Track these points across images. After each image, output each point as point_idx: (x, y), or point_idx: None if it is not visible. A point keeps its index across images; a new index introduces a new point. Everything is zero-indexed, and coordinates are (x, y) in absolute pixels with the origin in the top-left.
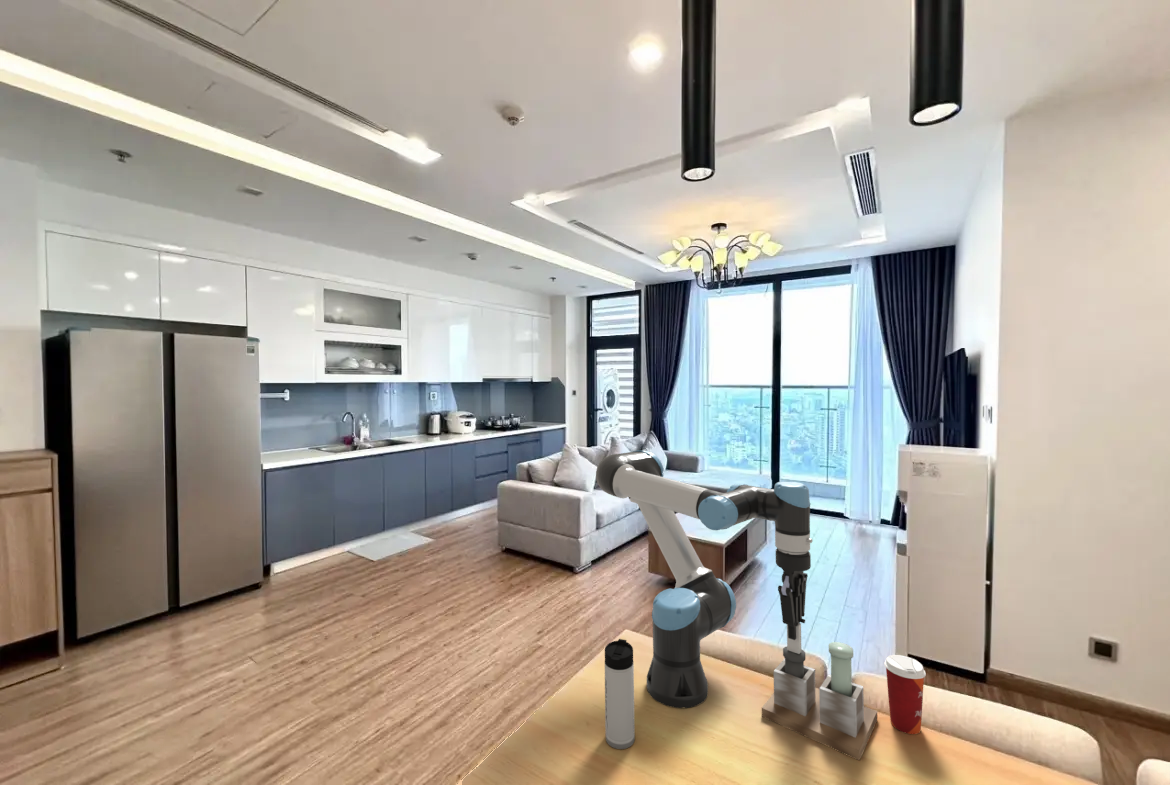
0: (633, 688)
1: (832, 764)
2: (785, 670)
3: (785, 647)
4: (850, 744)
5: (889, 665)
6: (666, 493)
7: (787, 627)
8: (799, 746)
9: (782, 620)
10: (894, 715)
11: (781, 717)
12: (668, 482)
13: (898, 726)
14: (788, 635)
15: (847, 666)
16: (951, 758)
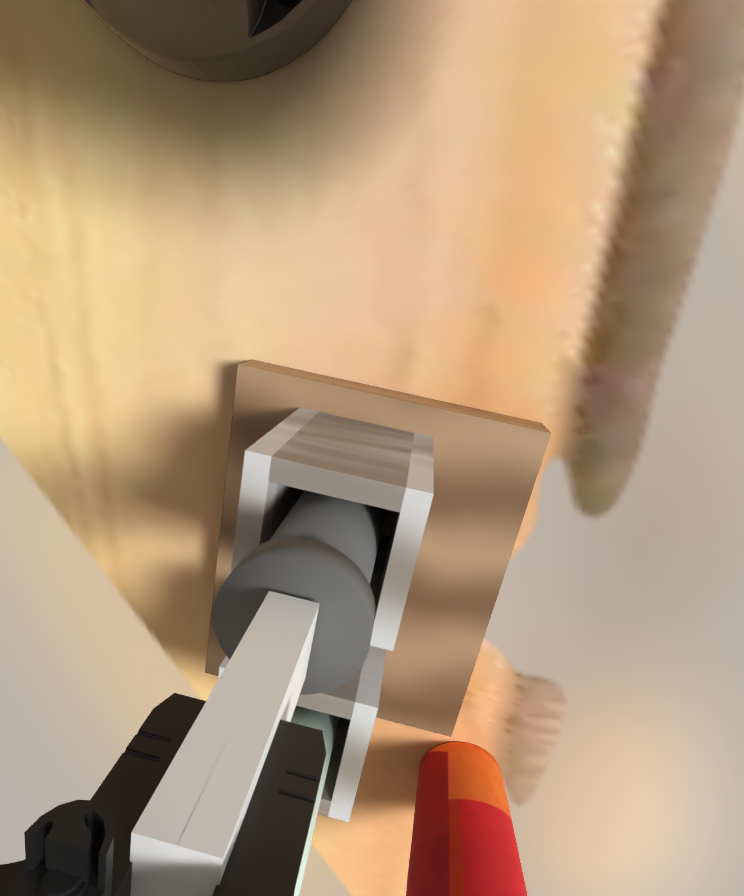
0: None
1: (157, 587)
2: (299, 509)
3: (320, 571)
4: (216, 653)
5: None
6: None
7: (173, 766)
8: (174, 500)
9: (26, 832)
10: (428, 786)
11: (231, 445)
12: None
13: (424, 764)
14: (147, 720)
15: None
16: (364, 836)
